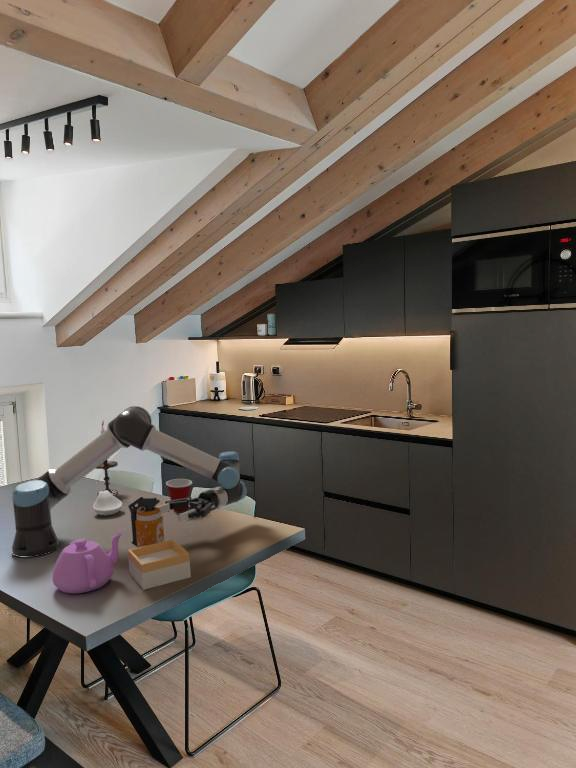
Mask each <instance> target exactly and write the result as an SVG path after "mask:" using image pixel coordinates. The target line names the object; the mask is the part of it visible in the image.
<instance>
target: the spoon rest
mask: <svg viewBox="0 0 576 768" xmlns="http://www.w3.org/2000/svg"><path fill="white" fill-rule="evenodd" d="M92 508H93V511H94V512H95V513H96V514H98V515H100V516H103V515H104V516H103V517H107V515H108V516H112V515H115V514H117V513H118V512H119V511H121V509H122V508H123V502H122V501H121V500H120V499H119V498H118V497H116V495H114V496H113V495H112V494H111V493H110V492H109V491H107V490H106V491H104V490H101V491H99V495H98V494H97V498H96V500H94V503H93V506H92Z"/></svg>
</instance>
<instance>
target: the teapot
mask: <svg viewBox="0 0 576 768" xmlns="http://www.w3.org/2000/svg"><path fill="white" fill-rule="evenodd" d="M124 532H125V531H124V530H123V531H120V532H117V533H116V534H115V535H113V537H112V539H111V549H110V551H109V552H108V553H107V552H106V551H105V549H104V548H103V547H102V545H100V544H99V543H98V542H96V541H91V540H90V541H88V540H87V539H85V538H79V539H76V540H74V541H71V542H69V545H67V546H65V547H64V548H63V549H62V551H61V552H60V554H59V556H58V558H57V560H56V562H55V564H54V568H53V572H52V583H53V585H54V587H56V588H57V589H58V590H59V591H61V592H63V593H66V594H81V593H87V592H88V593H89V592H92V591H94V590H97V589H100V588H102V587H103V586H105V585H106V584H107V583H108V582H109V581H110V579H111V577H112V576H113V573H114V566H115V565H116V563H117V562H118V558H119V552H120V551H119V540H120V538H121V536H122V535H123V534H124Z"/></svg>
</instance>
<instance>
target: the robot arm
mask: <svg viewBox="0 0 576 768" xmlns="http://www.w3.org/2000/svg"><path fill="white" fill-rule="evenodd" d="M106 427H107V428H106V429H105V432H103V433H102V434H101V433H100V434H99V435H98V436H97V437H96V438H95V439H93V440H91V442H89V443H88V444H87V445H86V446H84V447H83V448H82V449H81V450H79V451H78V452H77V453H76V454H74V455H73V456H72V457H71V458H69V459H68V460H67V461H65V462H64V463H62V464H61V465H60V466H58V467H57V468H49V470H47V471H46V472H45V473H43V474H42V475H40V476H39V477H38V478H36V479H35V480H29V481H25V482H22V483H20V484H18V485H16V486H15V487H14V489H13V490H12V499H11V500H12V504H13V505H12V506H13V515H14V516H13V517H14V523H15V524H14V525H15V533H14V537H13V542H12V546H11V550H12V551H11V553H12V552H13V553H12V555H13V554H15V555H18V556H36V555H40V556H42V555H41V554H44V555H46V554H45V553H47V554H49V553H48V552H50V553H52V552H54V551H56V550H57V549H58V548H59V547H58V546H60V545H59V544H60V543H59V542H60V541H59V538H58V535H57V534H56V532H55V530H54V527H53V524H52V513H51V511H52V509H53V508H54V507H55V506H56V505H57V504H59V503H60V502H61V501H62V500H64V499H65V498H66V497H68V495H69V494H71V493H72V490H73V486H74V485H76V484H77V483H79V482H80V481H81V480H82V479H84V478H85V477H87V476H88V475H89V474H90V473H92V471H94V470H95V468H96V467H98V466H99V465H100V464H101V463H103V462H104V461H105V460H106V459H107V460H108V458H109V459H110V458H111V457H112V456H113V455H114V454H115V453H117V452H118V451H119V450H121V449H122V448H125V449H128V448H129V447H134V448H136V449H138V450H139V451H143V452H144V451H147V450H148V451H149V452H152V453H154V454H155V455H158V456H160V457H163V458H165V459H166V460H169V461H172V462H174V463H176V464H178V465H180V466H182V467H184V468H187V469H188V470H190V471H193V472H195V473H198V474H200V475H202V476H203V477H206V478H207V479H210V480H212V481H215V482H217V483H218V484H219V486H216V487H212V488H210V489H207V490H204V491H201V492H200V493H199V494H198V496H197V497H194V498H192V496H189V497H188V498H183V499H177V500H171V499H170V500H166V501H165V502H164V504H162V505H158V506H156V507H157V508H159V509H160V511H161V515H162V514H166V513H170V512H171V510H173V509H183V508H187V510H186V511H185V512H184V511H183V512H182V513H178V519H179V520H178V521H179V523H183V522H186V521H189V520H191V519H194V518H200V517H201V518H205V517H207V515H209V514H210V513H211V512H213V511H214V510H215V511H216V510H220V509H221V508H223V507H225V506H228V505H231V504H233V503H238V502H240V501H242V500H243V499H245V498H246V496H247V493H248V488H247V486H246V484H245V482H244V481H243V480H241V477H240V476H241V475H240V473H241V472H240V457H239V455H240V454H239V453H238V452H237V451H224V452H221V453H219V455H218V458H217V457H215V456H213V455H211V454H209V453H207V452H205V451H202V450H200V449H198V448H196V447H193V446H191V445H190V444H188V443H185V442H183V441H181V440H179V439H176V438H175V437H172V436H170V435H168V434H167V433H165V432H164V433H163V432H162V431H160V430H157V427H156V426H155V425H154V424H152V416H151V414H150V412H149V411H148V410H147V409H146V408H144V407H142V406H139V405H133V406H129V407H127V408H125V409H124V410H123V411H122V412H120V413H119V414H118V415H117V416H116V417H114V418H113V419H112V420H110V421H109V422H108V423H107V425H106ZM173 511H174V510H173ZM57 547H58V548H57ZM56 548H57V549H56ZM55 549H56V550H55ZM53 550H54V551H53ZM51 551H52V552H51ZM36 557H37V556H36Z"/></svg>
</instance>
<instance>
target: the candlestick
mask: <svg viewBox="0 0 576 768" xmlns="http://www.w3.org/2000/svg"><path fill="white" fill-rule="evenodd" d="M104 422H105V421H104V420H102V424H101V429H100V435H101V434H102V433H103V432H105V431H106V429H104ZM108 459H110V457H109V458H108ZM108 459H106V460H105V461H104V462H103V463H101V464H100V465H99V466H98V467H96V468H95V469H98V470H104V477H103V481H104V485H105V489H104V490H103V491H106V490H107V491H109V492H110V493H112V491H113V490H115V491H117V492H118V493H119V490H118V489H110V487H109V485H110V479H111V478H110V476H109V473H108V471H109V469H111V468H115V467H117V466H118V461H112V460H110V461H109V460H108ZM95 469H94V470H95ZM111 490H112V491H111ZM99 492H100V491H99ZM99 492H97V496H98V495H99ZM117 492H116V493H117ZM113 494H115V493H113Z"/></svg>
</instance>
